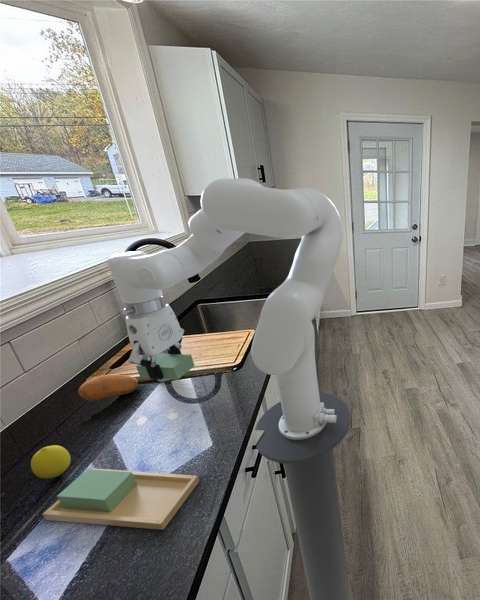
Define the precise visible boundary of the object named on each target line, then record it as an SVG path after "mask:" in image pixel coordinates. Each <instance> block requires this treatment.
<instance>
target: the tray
mask: <svg viewBox="0 0 480 600" xmlns="http://www.w3.org/2000/svg"><path fill="white" fill-rule="evenodd" d="M92 470H106V471H120V472H132V474H133V476H134V478H135V481H136V483H137V485H136V486H135V487H134V488H133V489H132V490H131V491H130V492H129V493H128V494H127V495H126V497H125V498H124V499H123V500H122V501H121V502H120V503H119V504H118V505H117V506H116V507H115V508H114V509H113V510H112V511H111V512H102V511H90V510H78V509H66V508H63V506H62V504H61V503H60V501H59V499H57V500H56V501H55V502H54V503H53V504H52V505H51V506H50V507H48V508H47V509H46V510H45V511H44V512H43V513H42V516H43V517H44V519H45V520H46V521H55V522H67V523H78V524H79V523H80V524H88V525H101V526H114V527H124V528H125V527H126V528H136V529H147V530H158V531H159V530H161V531H164V530H165V528H166V527H167V526H168V524H169V523H170V522H171V520H172V519H173V518H174V516H175V515H176V514H177V512H178V511H179V510H180V509H181V507H182V506H183V504H185V501H186V500H187V499H188V498H189V496H190V495H191V493H192V492H193V491H194V489H195V488H196V487H197V485H199V483H200V479H199V476H198V475H191V474H177V473H163V472H150V471H137V470H123V469H122V470H121V469H107V468H93V469H92Z"/></svg>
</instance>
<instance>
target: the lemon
mask: <svg viewBox="0 0 480 600" xmlns="http://www.w3.org/2000/svg"><path fill="white" fill-rule="evenodd" d="M71 459H72V457H71V454H70V452H69V451H68V449H66V448H65V447H64V446H61V445H58V444H57V445H56V444H52V445H47V446H44V447H42V448H40V449H39V450H38V451H37V452H35V454H34V455H33V456H32V458H31V460H30V468H31V471H32V473H33V474H34V475H35V476H36V477H38V478H40V479H53V478H56V477H60V476H61V475H62V474H63V473H65V472H66V471H67V470H68V468H69V467H70V465H71Z"/></svg>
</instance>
